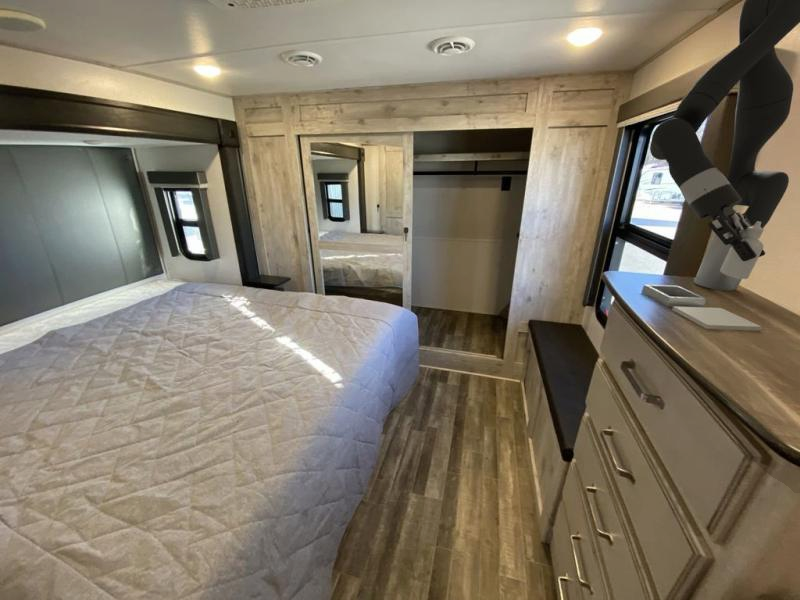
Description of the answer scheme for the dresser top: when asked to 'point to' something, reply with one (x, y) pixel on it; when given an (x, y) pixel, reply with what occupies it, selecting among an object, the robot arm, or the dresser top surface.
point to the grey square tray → (683, 299)
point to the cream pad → (716, 318)
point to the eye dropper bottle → (734, 263)
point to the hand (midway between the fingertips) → (754, 257)
